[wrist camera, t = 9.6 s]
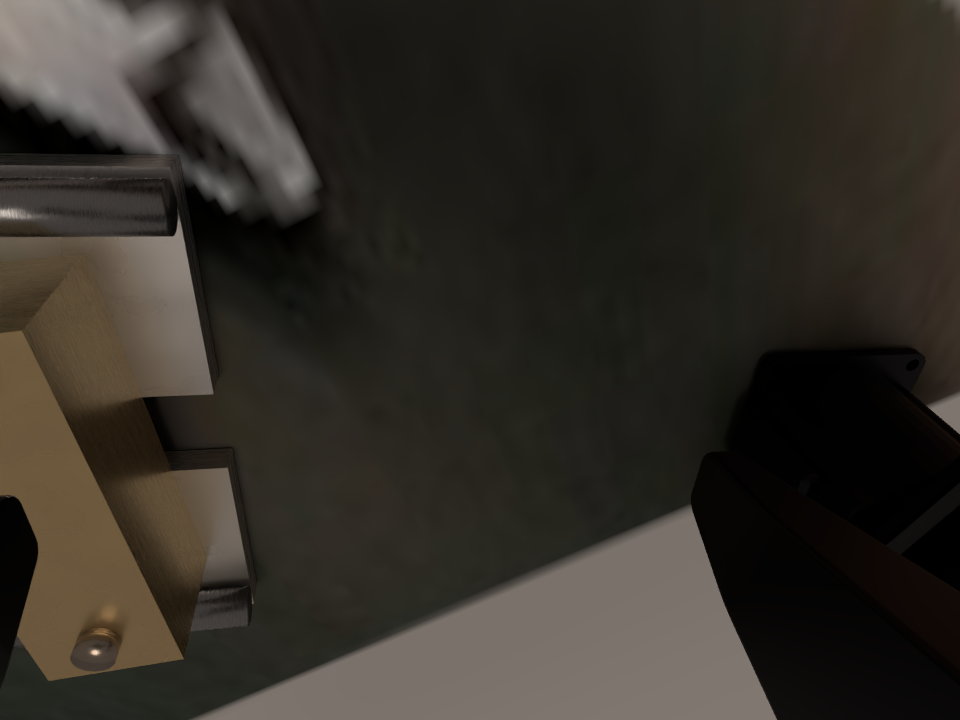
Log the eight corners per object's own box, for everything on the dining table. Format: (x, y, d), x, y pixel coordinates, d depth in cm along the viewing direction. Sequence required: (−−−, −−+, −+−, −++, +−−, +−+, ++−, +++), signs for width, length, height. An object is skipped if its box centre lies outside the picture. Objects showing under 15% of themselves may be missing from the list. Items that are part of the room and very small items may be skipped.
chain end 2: (232, 448, 23) (220, 498, 21) (256, 582, 27) (249, 635, 25) (-27, 461, 22) (-65, 516, 20) (38, 601, 25) (11, 658, 23)
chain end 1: (178, 155, 18) (156, 185, 16) (219, 375, 21) (204, 422, 19) (-170, 150, 16) (-243, 182, 14) (-61, 386, 20) (-108, 437, 18)
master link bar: (84, 253, 18) (10, 345, 14) (206, 558, 24) (179, 677, 20) (-80, 269, 17) (-204, 369, 13) (91, 575, 24) (41, 699, 20)
